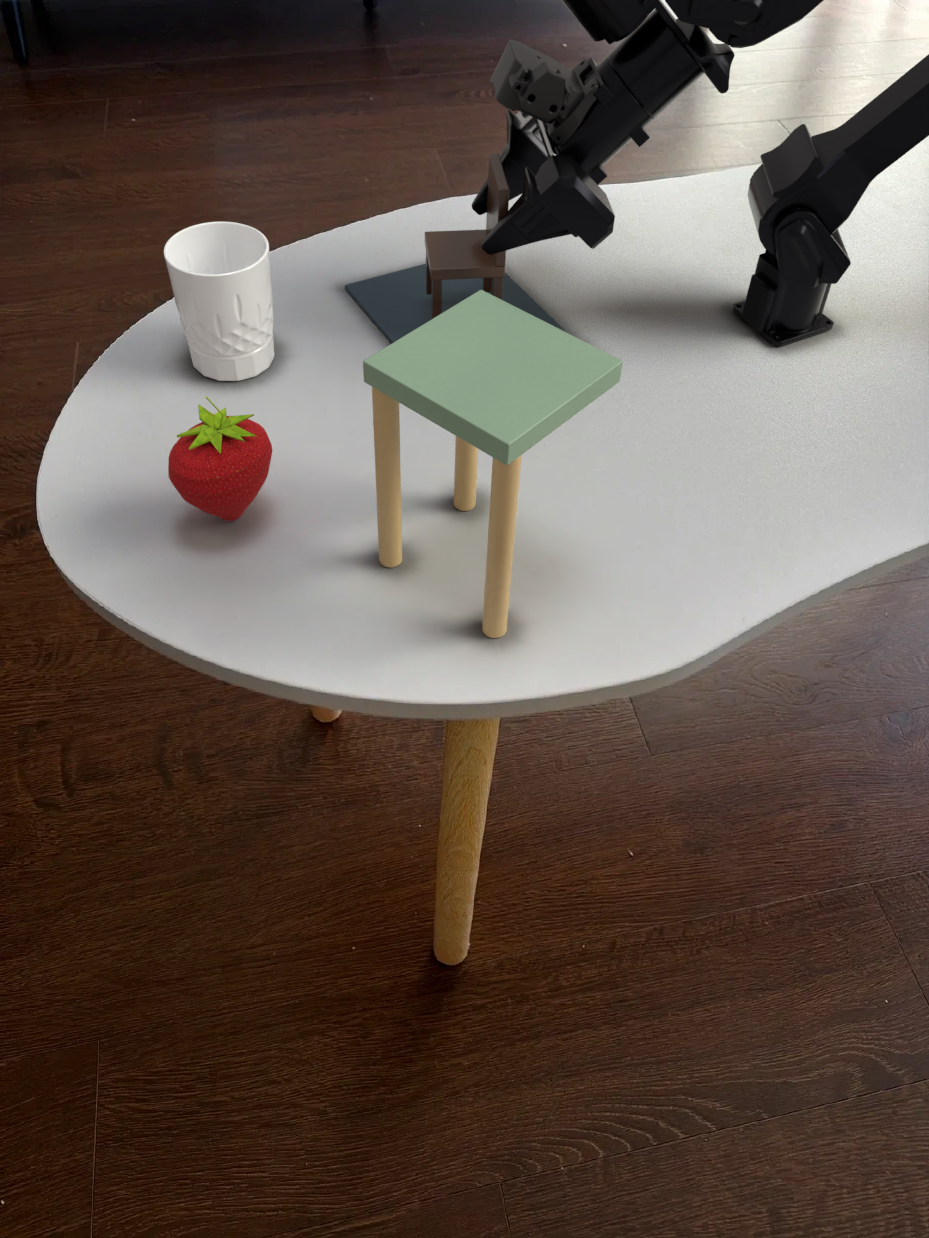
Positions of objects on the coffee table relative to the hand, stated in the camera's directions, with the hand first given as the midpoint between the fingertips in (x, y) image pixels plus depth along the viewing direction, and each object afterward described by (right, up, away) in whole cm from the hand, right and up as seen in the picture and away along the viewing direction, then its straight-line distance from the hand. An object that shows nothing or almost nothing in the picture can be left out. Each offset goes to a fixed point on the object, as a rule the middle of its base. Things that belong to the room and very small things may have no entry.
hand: (479, 230), depth 89 cm
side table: (0, -28, -13) cm, 31 cm away
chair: (-1, -5, +5) cm, 7 cm away
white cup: (-20, -10, +2) cm, 23 cm away
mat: (-1, -6, +6) cm, 9 cm away
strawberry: (-18, -25, -11) cm, 32 cm away
